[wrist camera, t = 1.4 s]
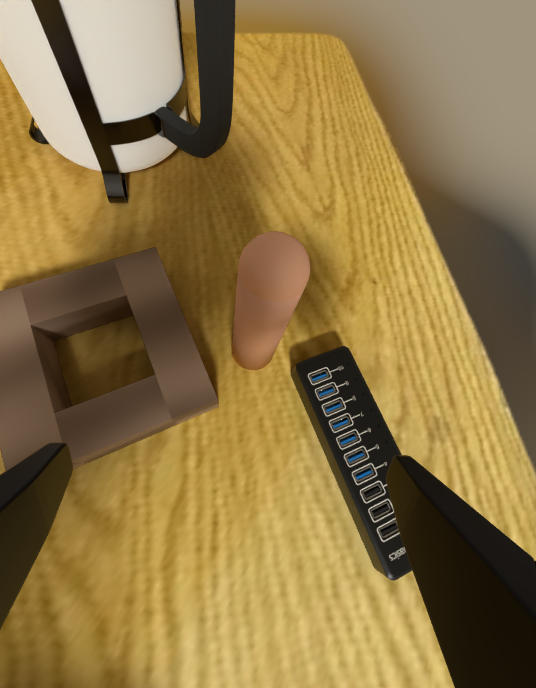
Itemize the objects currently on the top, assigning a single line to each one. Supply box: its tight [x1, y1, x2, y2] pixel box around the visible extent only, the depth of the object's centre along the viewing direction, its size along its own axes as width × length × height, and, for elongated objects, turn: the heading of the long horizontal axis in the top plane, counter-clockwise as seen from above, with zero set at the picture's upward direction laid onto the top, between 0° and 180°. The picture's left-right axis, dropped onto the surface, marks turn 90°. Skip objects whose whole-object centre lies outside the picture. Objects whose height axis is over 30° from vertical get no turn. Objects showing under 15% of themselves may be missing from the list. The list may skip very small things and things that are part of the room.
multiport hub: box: [291, 346, 412, 580], centre depth 23 cm, size 4×14×2 cm, turn 22°
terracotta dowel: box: [232, 231, 310, 370], centre depth 19 cm, size 3×3×13 cm
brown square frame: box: [0, 247, 219, 471], centre depth 22 cm, size 12×12×3 cm
